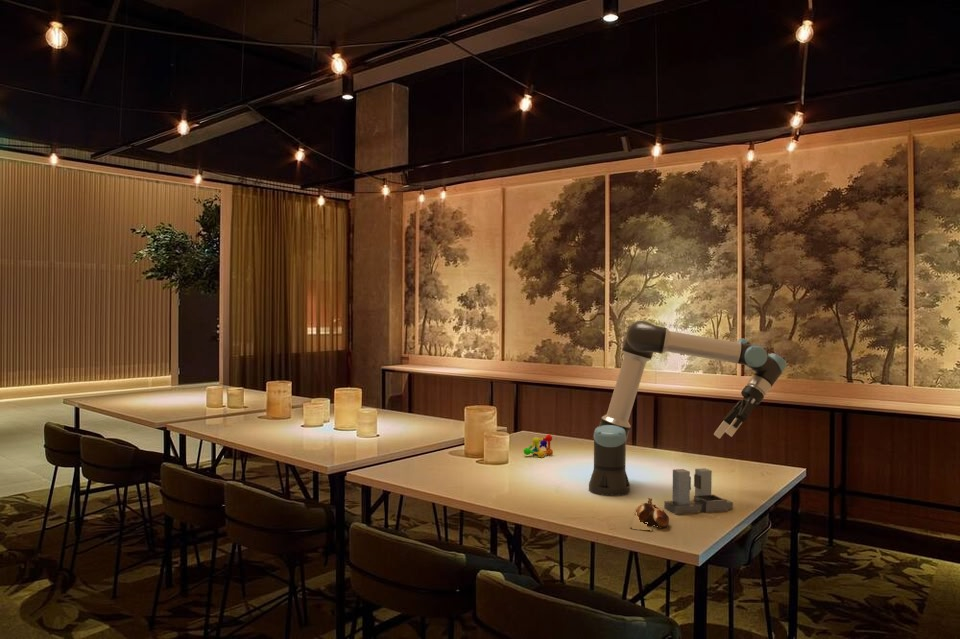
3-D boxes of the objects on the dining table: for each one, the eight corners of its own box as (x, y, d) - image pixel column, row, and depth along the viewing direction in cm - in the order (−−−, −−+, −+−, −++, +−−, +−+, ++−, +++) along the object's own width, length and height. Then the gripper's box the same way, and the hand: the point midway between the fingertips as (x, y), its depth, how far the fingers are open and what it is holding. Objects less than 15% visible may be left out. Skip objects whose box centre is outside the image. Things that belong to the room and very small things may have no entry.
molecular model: (525, 462, 321) (546, 441, 327) (540, 470, 313) (561, 448, 320) (517, 446, 315) (539, 425, 321) (532, 454, 308) (554, 432, 314)
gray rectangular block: (699, 502, 239) (699, 471, 239) (693, 499, 243) (693, 468, 243) (711, 502, 240) (711, 470, 240) (704, 499, 244) (705, 468, 244)
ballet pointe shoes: (629, 512, 207) (632, 489, 234) (629, 534, 207) (633, 509, 234) (676, 514, 203) (673, 491, 231) (676, 536, 203) (674, 511, 231)
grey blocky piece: (676, 514, 224) (676, 473, 224) (664, 508, 231) (664, 468, 231) (735, 510, 229) (735, 470, 229) (721, 504, 237) (722, 465, 237)
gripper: (777, 393, 241) (742, 440, 238) (752, 400, 265) (720, 443, 262) (759, 379, 242) (724, 426, 239) (735, 388, 266) (704, 431, 263)
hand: (722, 435), depth 250 cm, fingers open, 13 cm apart
